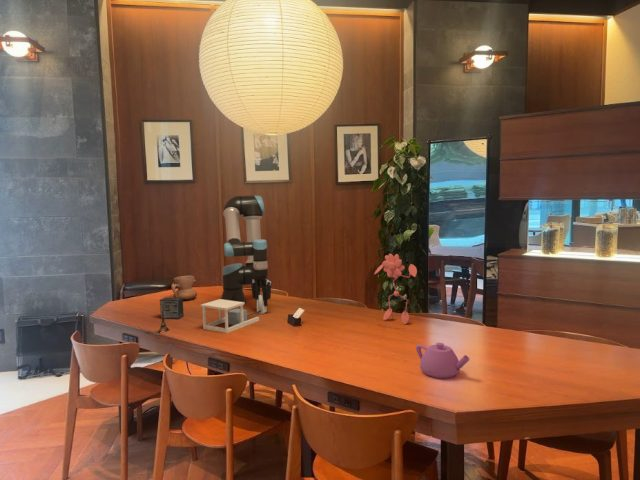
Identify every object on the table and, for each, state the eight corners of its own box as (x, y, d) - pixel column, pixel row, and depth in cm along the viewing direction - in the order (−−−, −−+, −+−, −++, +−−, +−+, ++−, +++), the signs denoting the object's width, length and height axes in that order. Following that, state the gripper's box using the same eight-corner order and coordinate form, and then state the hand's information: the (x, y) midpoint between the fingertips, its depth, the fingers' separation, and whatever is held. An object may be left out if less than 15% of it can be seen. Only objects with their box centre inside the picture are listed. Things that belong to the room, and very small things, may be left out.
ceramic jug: (188, 295, 303) (187, 274, 302) (203, 297, 295) (202, 275, 293) (165, 301, 288) (163, 279, 287) (180, 304, 280) (179, 280, 279)
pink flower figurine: (381, 315, 244) (379, 250, 240) (423, 325, 226) (423, 254, 222) (362, 322, 233) (360, 253, 229) (405, 332, 215) (404, 258, 211)
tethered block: (258, 311, 252) (257, 293, 251) (268, 313, 249) (268, 295, 248) (225, 323, 230) (225, 304, 229) (236, 325, 226) (236, 305, 225)
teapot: (461, 386, 154) (461, 355, 153) (407, 372, 167) (407, 343, 166) (476, 373, 165) (477, 344, 164) (424, 361, 178) (425, 334, 176)
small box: (184, 316, 251) (183, 297, 250) (179, 319, 245) (178, 299, 244) (165, 315, 252) (164, 296, 251) (160, 319, 246) (159, 299, 245)
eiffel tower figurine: (143, 333, 222) (142, 306, 220) (160, 328, 230) (159, 302, 229) (164, 338, 214) (163, 310, 212) (181, 332, 222) (180, 305, 221)
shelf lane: (235, 319, 243) (234, 294, 242) (260, 322, 235) (259, 297, 234) (201, 331, 222) (200, 304, 221) (227, 335, 214) (226, 308, 213)
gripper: (244, 268, 248) (245, 311, 250) (268, 270, 239) (269, 315, 242) (253, 266, 254) (254, 308, 256) (276, 268, 246) (278, 311, 248)
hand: (261, 311), depth 249 cm, fingers closed on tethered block, 3 cm apart
